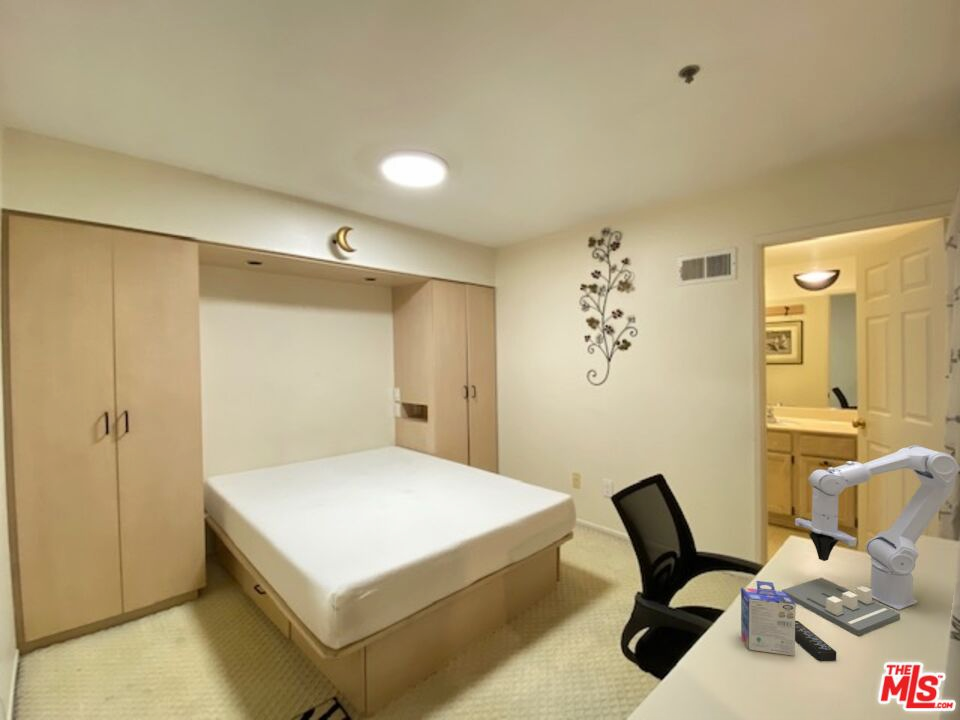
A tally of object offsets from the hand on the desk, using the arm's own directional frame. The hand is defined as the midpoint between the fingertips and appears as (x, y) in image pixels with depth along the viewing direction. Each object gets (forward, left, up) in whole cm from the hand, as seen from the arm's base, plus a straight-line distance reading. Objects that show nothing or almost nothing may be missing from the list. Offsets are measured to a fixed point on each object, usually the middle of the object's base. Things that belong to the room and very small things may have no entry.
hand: (823, 559), depth 120 cm
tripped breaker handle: (+4, +9, -8) cm, 12 cm away
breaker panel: (+4, +6, -9) cm, 12 cm away
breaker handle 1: (+10, +8, -8) cm, 16 cm away
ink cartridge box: (+37, +9, -10) cm, 39 cm away
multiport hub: (+27, +12, -10) cm, 31 cm away
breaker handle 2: (-2, +9, -8) cm, 12 cm away
